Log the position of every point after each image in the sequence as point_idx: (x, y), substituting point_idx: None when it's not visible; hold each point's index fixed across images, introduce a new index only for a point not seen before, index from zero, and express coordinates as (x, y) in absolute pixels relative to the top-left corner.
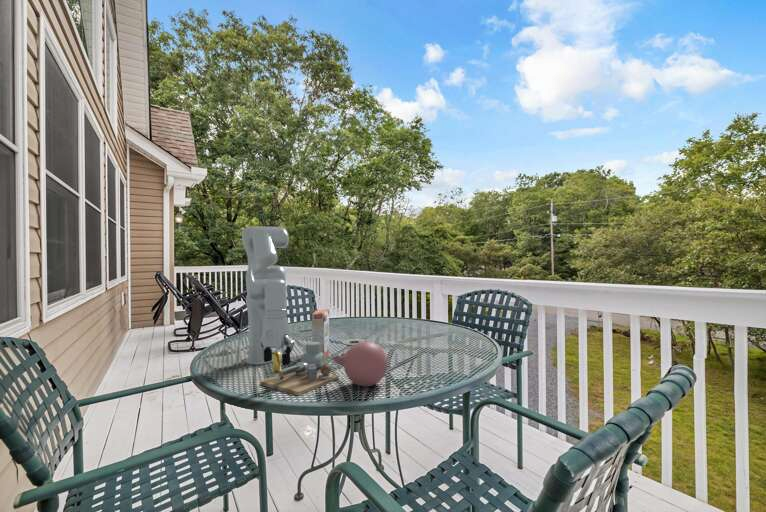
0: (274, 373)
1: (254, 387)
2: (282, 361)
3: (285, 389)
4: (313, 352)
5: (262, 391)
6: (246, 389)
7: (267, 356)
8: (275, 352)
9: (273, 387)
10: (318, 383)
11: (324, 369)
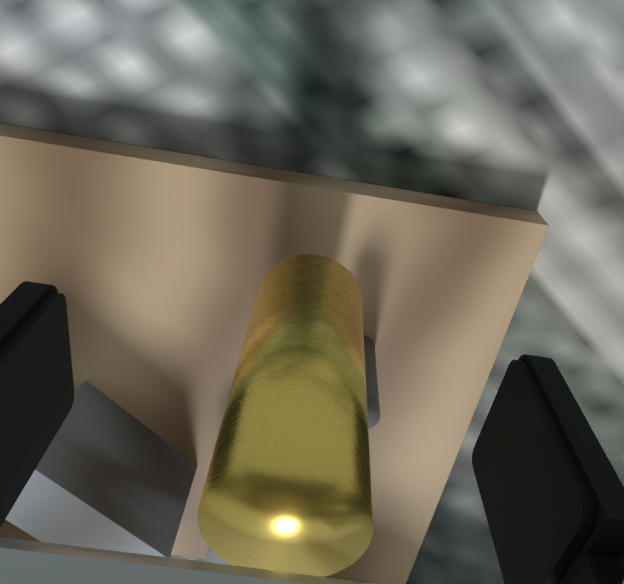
0: (304, 255)
1: (549, 120)
2: (6, 318)
3: (124, 152)
4: None
5: (372, 53)
6: (609, 27)
7: (522, 451)
8: (328, 537)
9: (319, 178)
10: None
11: None
